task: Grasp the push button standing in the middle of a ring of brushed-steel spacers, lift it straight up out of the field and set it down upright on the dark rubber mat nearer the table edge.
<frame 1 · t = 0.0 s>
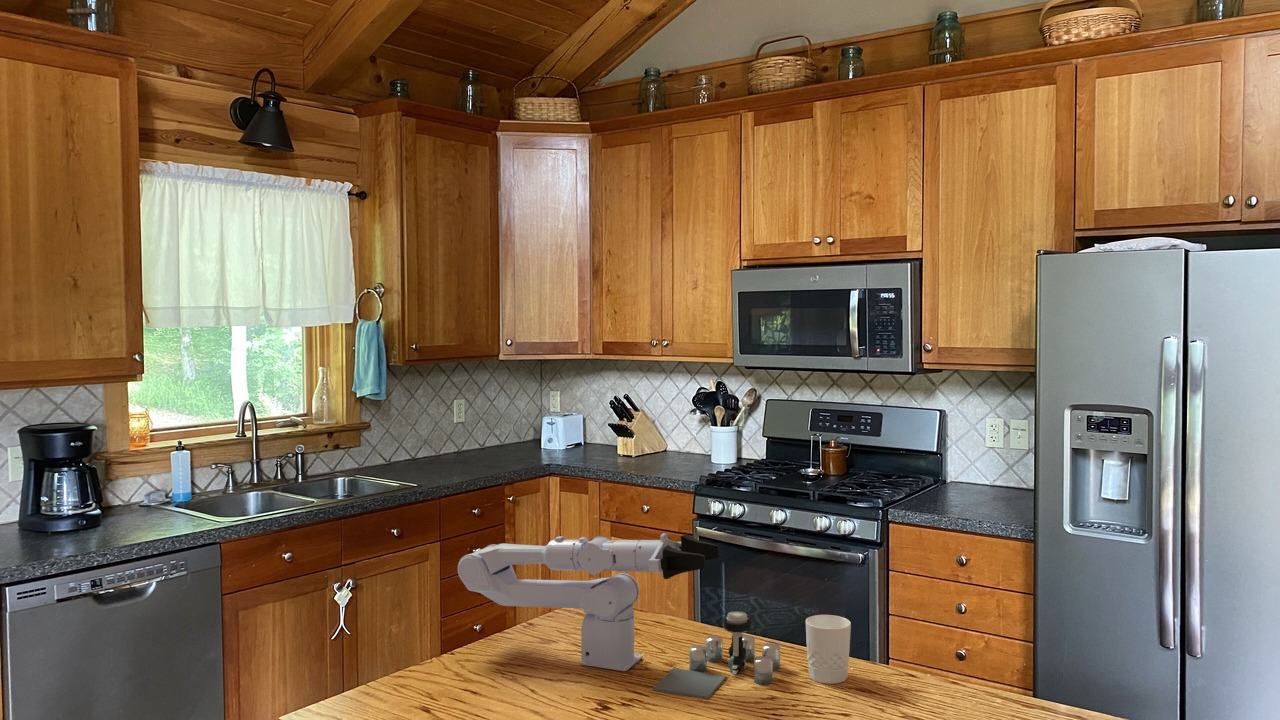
hand: (712, 556, 168), 22 cm above the countertop, tool horizontal, fingers open, 7 cm apart
push button: (736, 671, 173), on the countertop
mat: (690, 684, 166), on the countertop
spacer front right: (763, 681, 167), on the countertop
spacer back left: (714, 659, 178), on the countertop
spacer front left: (698, 669, 173), on the countertop
spacer back right: (771, 667, 174), on the countertop
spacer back: (746, 658, 178), on the countertop
white cup: (827, 678, 169), on the countertop
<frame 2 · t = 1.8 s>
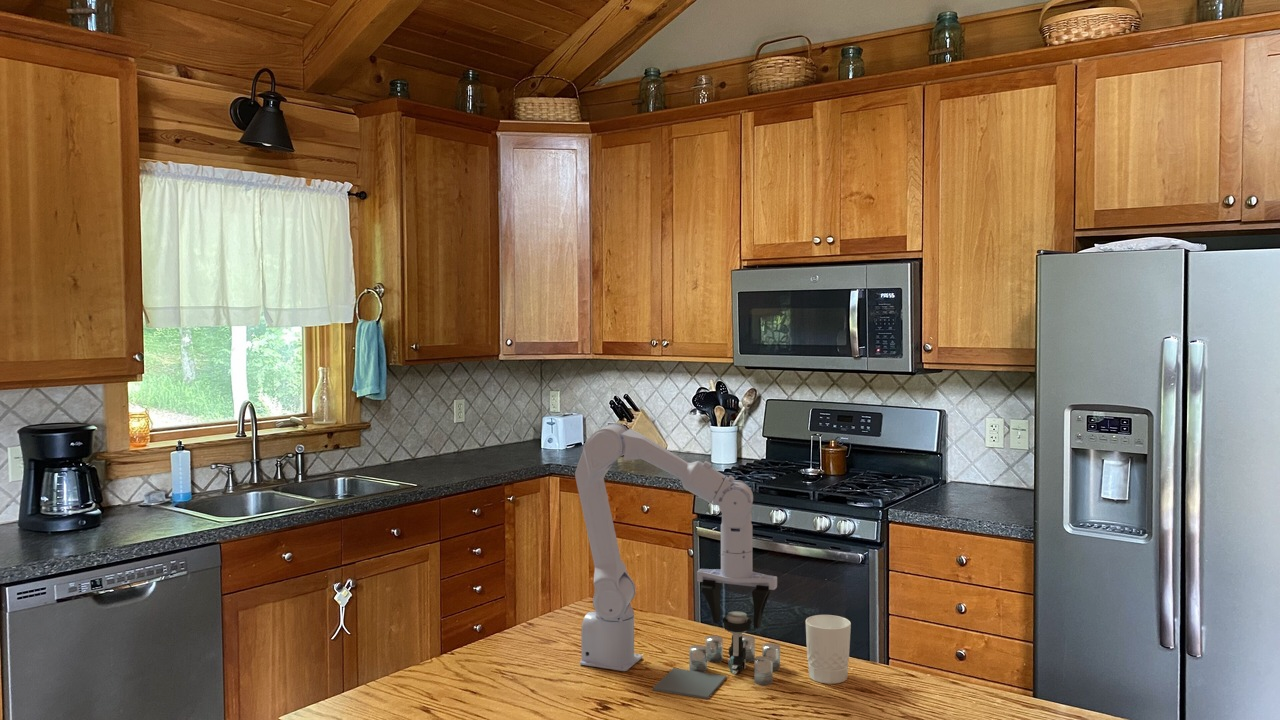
hand: (736, 624, 172), 8 cm above the countertop, tool pointing down, fingers open, 7 cm apart
nothing on the countertop moved.
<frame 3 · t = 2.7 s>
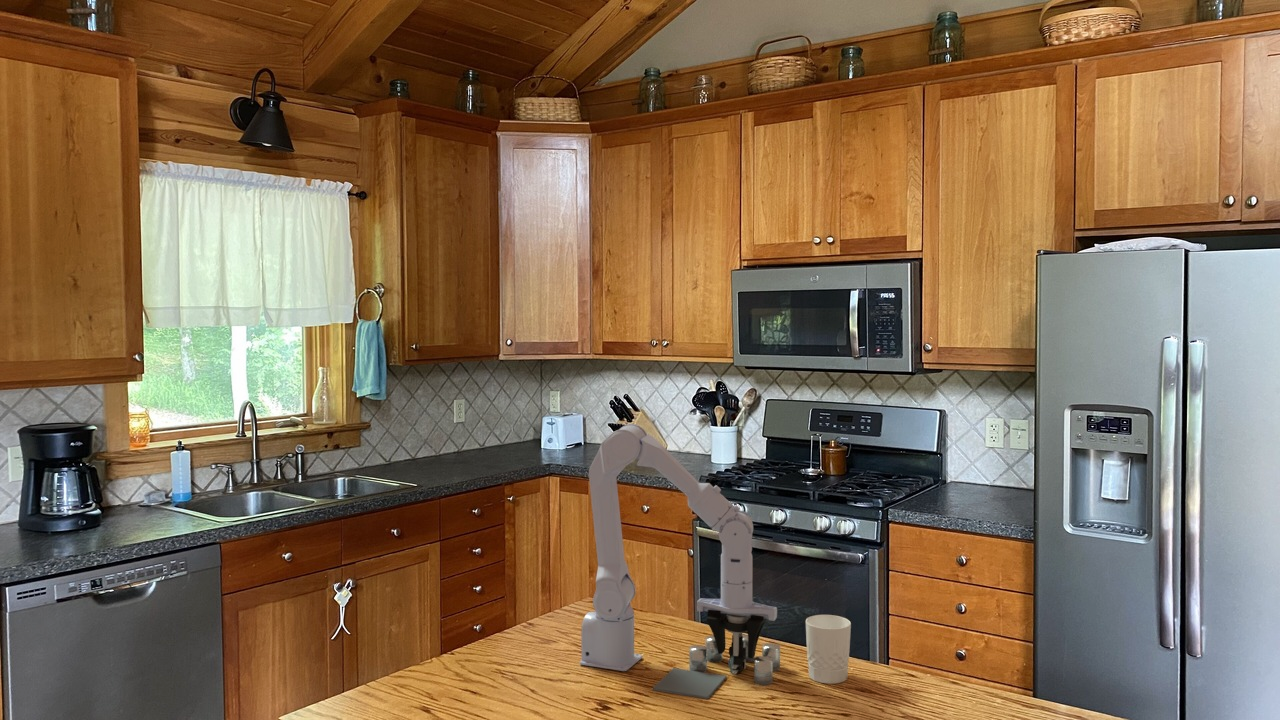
hand: (736, 654, 173), 3 cm above the countertop, tool pointing down, fingers closed on push button, 5 cm apart
push button: (736, 670, 173), on the countertop, touching gripper
everything else where it was.
when the fingers open (4 cm above the countertop, at t = 6.4 s): push button stays where it is, resting on mat.
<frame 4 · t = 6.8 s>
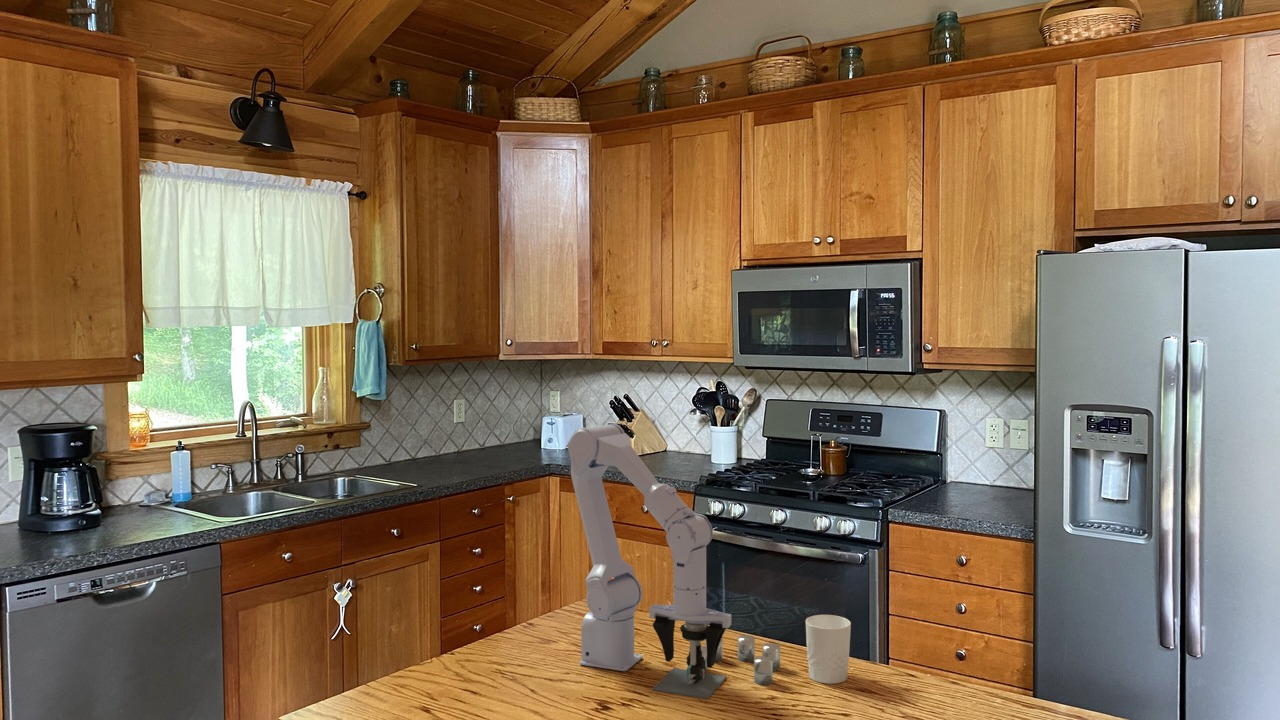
hand: (690, 662, 166), 4 cm above the countertop, tool pointing down, fingers open, 7 cm apart
push button: (694, 680, 167), resting on mat
everything else where it was.
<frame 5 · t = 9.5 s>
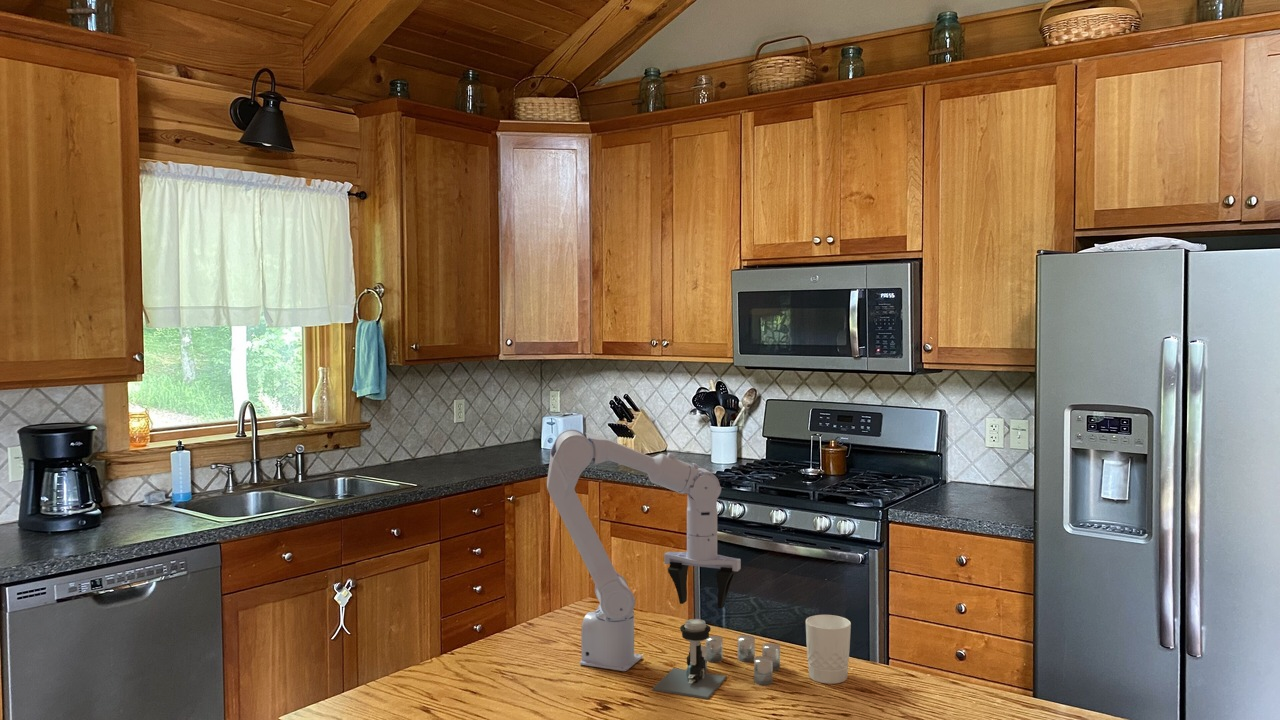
hand: (702, 604, 179), 10 cm above the countertop, tool pointing down, fingers open, 7 cm apart
nothing on the countertop moved.
at the end: push button inside the target area on the mat (1.4 cm from its centre), point 0.2 cm above the mat's base; push button tilted 0°; the gripper is holding nothing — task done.
